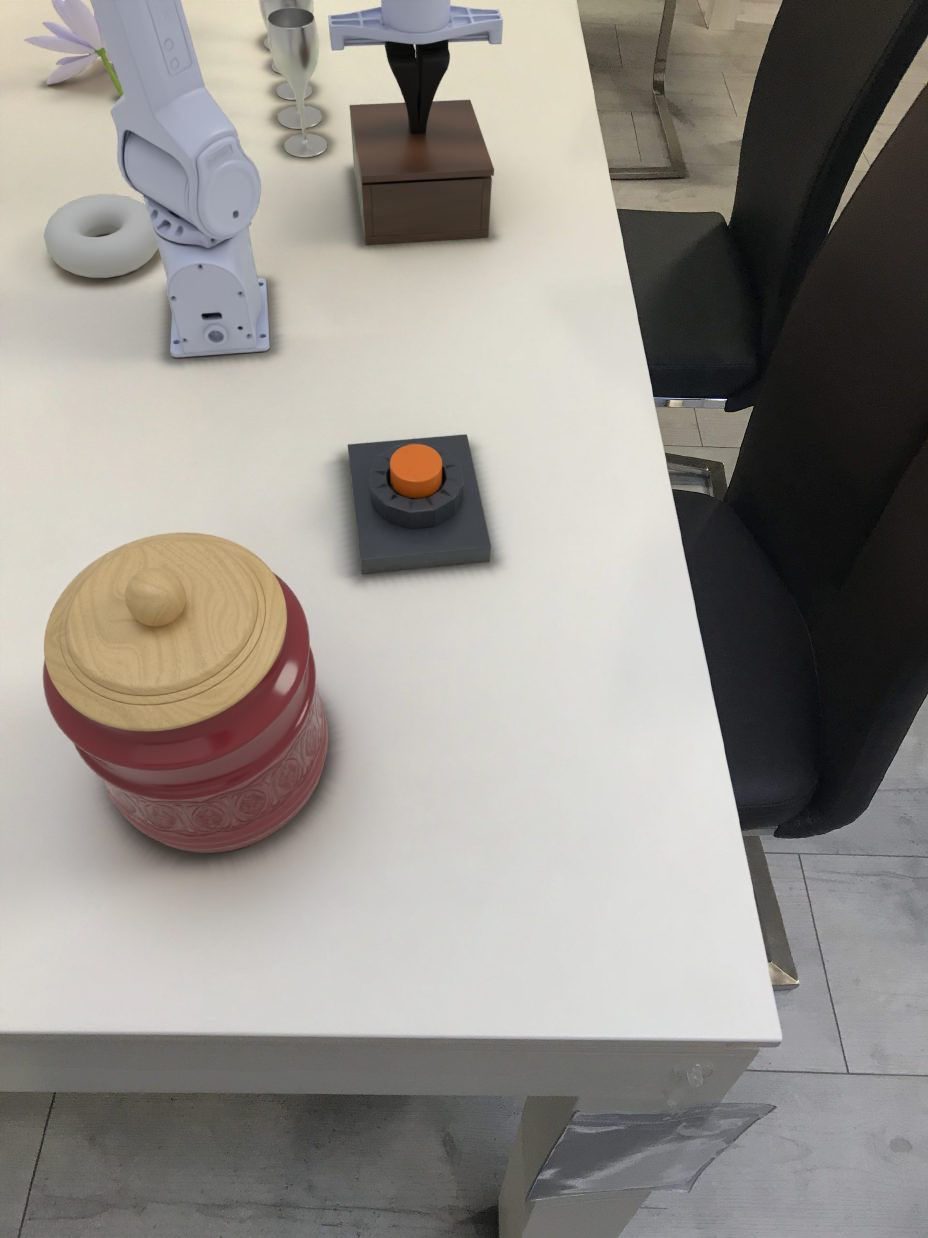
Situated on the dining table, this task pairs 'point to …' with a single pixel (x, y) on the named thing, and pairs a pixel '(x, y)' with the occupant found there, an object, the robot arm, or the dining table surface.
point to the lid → (419, 143)
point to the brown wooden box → (423, 208)
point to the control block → (417, 510)
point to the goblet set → (294, 67)
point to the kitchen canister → (189, 689)
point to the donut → (106, 255)
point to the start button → (416, 471)
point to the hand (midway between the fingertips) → (417, 127)
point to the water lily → (75, 41)
